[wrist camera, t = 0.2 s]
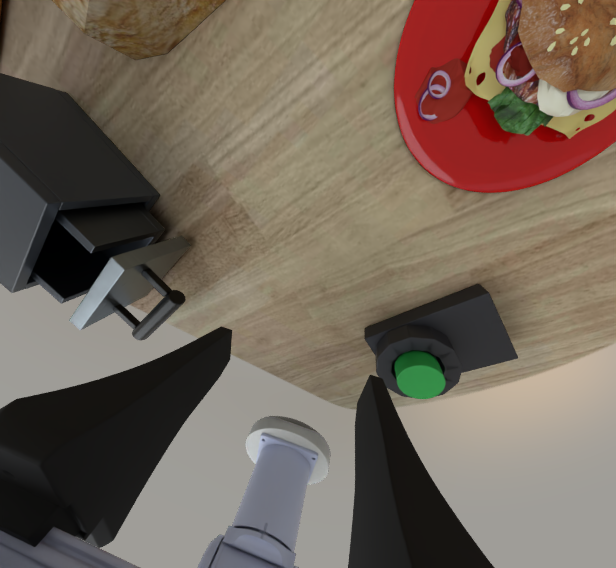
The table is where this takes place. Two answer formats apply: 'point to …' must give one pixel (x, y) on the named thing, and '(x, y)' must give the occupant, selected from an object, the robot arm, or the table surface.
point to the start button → (419, 375)
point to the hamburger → (506, 89)
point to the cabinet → (52, 172)
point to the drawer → (109, 264)
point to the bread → (138, 22)
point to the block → (443, 336)
